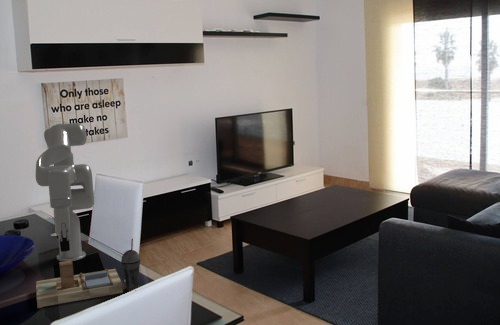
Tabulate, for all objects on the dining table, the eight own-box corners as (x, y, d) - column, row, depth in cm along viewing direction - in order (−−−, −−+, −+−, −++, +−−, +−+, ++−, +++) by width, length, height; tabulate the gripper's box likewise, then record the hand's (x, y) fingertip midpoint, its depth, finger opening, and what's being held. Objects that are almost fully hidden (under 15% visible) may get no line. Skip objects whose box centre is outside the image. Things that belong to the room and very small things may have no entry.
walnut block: (61, 287, 198) (59, 262, 196) (73, 285, 199) (71, 260, 198) (62, 291, 194) (59, 266, 192) (74, 289, 195) (72, 264, 194)
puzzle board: (37, 289, 201) (36, 279, 200) (115, 276, 212) (115, 267, 211) (37, 308, 184) (36, 297, 184) (123, 293, 196) (122, 282, 195)
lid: (84, 280, 199) (84, 274, 199) (107, 276, 202) (106, 270, 202) (86, 288, 191) (86, 282, 191) (110, 284, 194) (110, 278, 194)
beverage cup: (119, 289, 199) (115, 239, 196) (135, 284, 204) (132, 235, 201) (129, 294, 194) (126, 243, 191) (146, 289, 199) (143, 238, 196)
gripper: (49, 199, 197) (53, 245, 200) (51, 208, 183) (55, 258, 185) (70, 196, 200) (74, 242, 203) (73, 205, 185) (77, 254, 188)
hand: (65, 249), depth 194 cm, fingers closed
